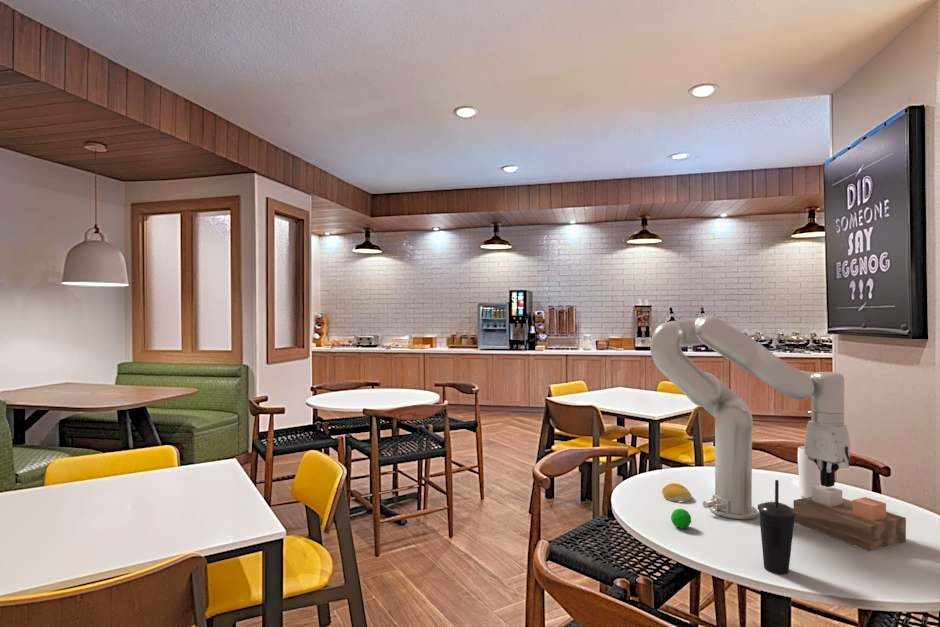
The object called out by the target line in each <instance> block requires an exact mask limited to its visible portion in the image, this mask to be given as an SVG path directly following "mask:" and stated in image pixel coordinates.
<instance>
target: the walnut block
mask: <svg viewBox="0 0 940 627" xmlns="http://www.w3.org/2000/svg"><path fill="white" fill-rule="evenodd" d="M792 508H793V509H795V510H796V515H795V519H794V524H795V523H796V525H797V524H798V525H800V526H803V527H805V528H808V529H811V530H813V531H816V532H819V533H821V534H823V535H826V536H828V537H831V538H834V539H837V540H839V541H842V542H845V543H847V544H849V545H853V546H855V547H858V548H860V549H863V550H865V551H868V552H871V551H876V550H880V549H883V548H886V547H891V546H895V545H899V544H902V543H906V541H907V537H906V536H907V518H906V517H904V516H901V515H898V514H895V513H891V512H888V511H886V519H883V520H878V521H871V520H868V519H865V518H862V517H859V516H856V515H853V500H850V499H846V498H844V497H842V505H837V506H832V507H829V506H826V505H823V504H820V503H817V502H814V501H812V497H807V498H803V497H802V498H798V499H793V506H792Z"/></svg>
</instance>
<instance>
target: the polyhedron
mask: <svg viewBox="0 0 940 627" xmlns="http://www.w3.org/2000/svg"><path fill="white" fill-rule="evenodd" d="M670 520H671V523H672V524H673V526H675V527H676V528H678V527H679V528H678V529H680V528H683V529H686V528H687V529H688V527H690V525H691V522H692V517H691V514H690V513H689V512H688V511H687V510H686V509H684V508H676V509H674V510H673V511H672V513H671V516H670Z"/></svg>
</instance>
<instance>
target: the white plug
mask: <svg viewBox="0 0 940 627" xmlns="http://www.w3.org/2000/svg"><path fill="white" fill-rule="evenodd" d="M842 498H843V490H842V489H839V488H836V487H834V486H831V487H825V486H815V487H812V501H814V502H817V503H820V504H823V505H826V506H829V507H832V506H837V505H842Z"/></svg>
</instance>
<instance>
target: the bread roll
mask: <svg viewBox="0 0 940 627" xmlns="http://www.w3.org/2000/svg"><path fill="white" fill-rule="evenodd" d="M661 493H662V495H663V498H664V499H665V498H666V499H665V500H667V499H669V500H668V501H670V500H673V501H672V502H674V501H686V502H688V500H689V501H691V499H692V494H691V493H690V491H689V489H688V488H686V486H684V485H683V484H679V483H674V482H673V483H668V484H667V485H665V486H663V488H662V490H661Z"/></svg>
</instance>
